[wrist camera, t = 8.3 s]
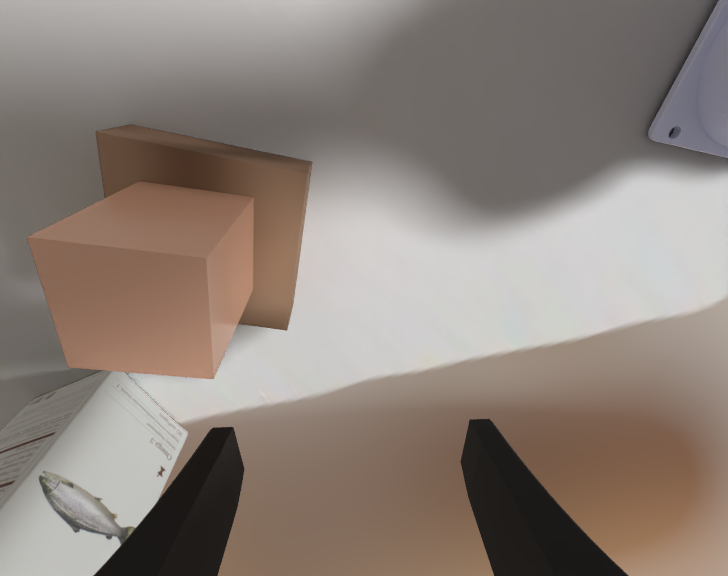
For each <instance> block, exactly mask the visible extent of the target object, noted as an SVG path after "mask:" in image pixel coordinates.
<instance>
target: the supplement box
mask: <svg viewBox="0 0 728 576" xmlns="http://www.w3.org/2000/svg"><path fill="white" fill-rule="evenodd" d="M187 435H188V432H187V431H186V430H185V429H183V428H182V427H181V426H180V425H179V424H177V423H176V422H175V421H174V420H173V419H172V418H171V417H170V416H169V415H168V414H166V413H165V412H164V411H163V410H162V409H161V408H160V407H159V406H158V405H157V404H156V403H155V402H154V401H153V400H152V399H151V398H150V397H149V396H148V395H147V394H146V393H145V392H144V391H143V390H142V389H141V388H140V387H139V386H138V385H137V384H136V383H135V382H134V381H133V380H132V379H131V378H130V377H129V376H128V375H127V374H126V373H125V372H118V371H106V370H103V371H100V372H98V373H96V374H93V375H91V376H88V377H86V378H83V379H81V380H78V381H76V382H74V383H71V384H69V385H66V386H64V387H61V388H59V389H56V390H54V391H52V392H49V393H47V394H45V395H42V396H40V397H38V398H35V399H33V400H32V401H31V402H30V403H29V404H27V405H26V406H25V407H24V408H23V409H22V410H21V411H20V412H19V413H18V414H17V415H16V416H15V417H14V418H13V419H12V420H11V421H10V422H9V423H8V424H7V425H6V426H5V427H4V428H3V429H2V430H1V431H0V576H94V575H95V573H96V572H97V571H98V570H99V569H100V568H101V567H102V566H103V565H104V564H105V563H106V562H107V560H108V559H109V558H110V557H111V556H112V555H113V554H114V553H115V552H116V550H117V549H118V548H119V547H120V546H121V545H122V544H123V542H124V541H125V540H126V539H127V538H128V537H129V536H130V534H131V533H132V532H133V531H134V529H135V528H136V527H137V526H138V525H139V523H140V522H141V521H142V520H143V519H144V517H145V516H146V515H147V514H148V513H149V511H150V510H151V509H152V508H153V507H154V505H155V504H156V503H157V501H158V498H159V496H160V494H161V492H162V490H163V488H164V486H165V484H166V481H167V479H168V477H169V475H170V473H171V470H172V468H173V466H174V464H175V462H176V459H177V457H178V455H179V453H180V450H181V448H182V446H183V444H184V442H185V440H186V438H187Z"/></svg>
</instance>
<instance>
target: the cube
mask: <svg viewBox="0 0 728 576" xmlns="http://www.w3.org/2000/svg"><path fill="white" fill-rule="evenodd" d="M253 229H254V197H250V196H242V195H235V194H228V193H221V192H214V191H207V190H199V189H192V188H185V187H178V186H171V185H163V184H156V183H149V182H142V181H139V182H137V183H135V184H133V185H131V186H129V187H127V188H125V189H123V190H121V191H119V192H117V193H115V194H113V195H111V196H109V197H107V198H105V199H103V200H101V201H99V202H97V203H95V204H92V205H90V206H88V207H86V208H84V209H82V210H80V211H78V212H76V213H74V214H72V215H70V216H68V217H66V218H64V219H62V220H60V221H58V222H56V223H54V224H52V225H50V226H48V227H46V228H44V229H42V230H40V231H38V232H36V233H34V234H32V235H30V236H28V237H27V240H28V243H29V246H30V249H31V252H32V255H33V258H34V262H35V265H36V268H37V271H38V274H39V277H40V280H41V284H42V287H43V290H44V293H45V296H46V299H47V302H48V306H49V309H50V312H51V315H52V318H53V321H54V324H55V328H56V331H57V334H58V337H59V340H60V343H61V346H62V350H63V353H64V356H65V359H66V362H67V365H68V368H81V369H93V370H106V371H118V372H130V373H143V374H155V375H168V376H180V377H193V378H205V379H214V377H215V375H216V373H217V371H218V368H219V366H220V364H221V361H222V359H223V357H224V355H225V352H226V350H227V348H228V345H229V343H230V341H231V339H232V336H233V334H234V332H235V329H236V327H237V325H238V323H239V320H240V318H241V316H242V313H243V311H244V309H245V307H246V304H247V302H248V300H249V297H250V295H251V293H252V291H253Z"/></svg>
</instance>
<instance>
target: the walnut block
mask: <svg viewBox="0 0 728 576" xmlns="http://www.w3.org/2000/svg"><path fill="white" fill-rule="evenodd" d="M96 138H97V145H98V152H99V159H100V166H101V174H102V181H103V188H104V195H105V198H107V197H109V196H111V195H113V194H115V193H117V192H119V191H121V190H123V189H125V188H127V187H129V186H131V185H133V184H135V183H137V182H139V181H142V182H149V183H156V184H163V185H171V186H178V187H185V188H192V189H199V190H207V191H214V192H221V193H228V194H235V195H242V196H250V197H254V229H253V291H252V293H251V295H250V297H249V300H248V302H247V304H246V307H245V309H244V311H243V313H242V316H241V318H240V320H239V323H238V324H244V325H251V326H258V327H266V328H273V329H280V330H287V329H288V324H289V320H290V316H291V312H292V307H293V303H294V295H295V288H296V280H297V273H298V265H299V258H300V250H301V243H302V235H303V228H304V220H305V213H306V205H307V198H308V190H309V183H310V175H311V168H312V162H310V161H305V160H300V159H295V158H291V157H286V156H281V155H276V154H271V153H266V152H261V151H257V150H252V149H247V148H242V147H237V146H232V145H227V144H223V143H218V142H213V141H208V140H203V139H198V138H193V137H189V136H184V135H179V134H174V133H169V132H164V131H159V130H155V129H150V128H145V127H140V126H135V125H126V126H121V127H116V128H111V129H106V130H101V131H96Z"/></svg>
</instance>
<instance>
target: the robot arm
mask: <svg viewBox="0 0 728 576" xmlns="http://www.w3.org/2000/svg"><path fill="white" fill-rule="evenodd" d="M672 128H674V132H673V134H672V135H671V136H669V132H670V130H671V129H672ZM648 136H649V138H650V139H651V140H653V141H656V142H661V143H665V144H669V145H673V146H678V147H682V148H686V149H690V150H695V151H699V152H703V153H708V154H712V155H716V156H720V157H725V158H728V0H718V2H717V4H716V6H715V8H714V10H713V12H712V13H711V15H710V17H709V19H708V21H707V23H706V25H705V26H704V28H703V30H702V32H701V34H700V36H699V37H698V39H697V41H696V43H695V45H694V47H693V49H692V50H691V52H690V54H689V56H688V58H687V60H686V61H685V63H684V65H683V67H682V69H681V71H680V73H679V74H678V76H677V78H676V80H675V82H674V84H673V86H672V87H671V89H670V91H669V93H668V95H667V97H666V98H665V100H664V102H663V104H662V106H661V108H660V110H659V111H658V113H657V115H656V117H655V119H654V121H653V122H652V124H651V126H650V128H649V131H648ZM461 465H462V470H463V475H464V479H465V484H466V489H467V493H468V497H469V500H470V503H471V507H472V510H473V513H474V516H475V519H476V522H477V525H478V528H479V531H480V534H481V537H482V540H483V543H484V546H485V549H486V552H487V555H488V558H489V561H490V564H491V567H492V570H493V573H494V576H628V575H627V574H626V573H625V572H624V571H623V570H622V569H621V568H620V567H619V566H618V565H616V564H615V562H613V561H612V560H611V559H610V558H609V557H608V556H607V555H606V554H605V553H604V552H603V551H602V550H601V549H600V548H599V547H598V546H597V545H596V544H595V543H594V542H593V541H592V540H591V539H590V538H589V537H588V536H587V534H586V533H585V532H584V531H583V530H582V529H581V528H580V527H579V526H578V525H577V524H576V523H575V522H574V521H573V520H572V519H571V517H570V516H569V515H568V514H567V513H566V512H565V511H564V510H563V509H562V508H561V506H560V505H559V504H558V503H557V502H556V501H555V500H554V498H553V497H552V496H551V495H550V494H549V493H548V492H547V490H546V489H545V488H544V487H543V486H542V484H541V483H540V482H539V481H538V480H537V479H536V477H535V476H534V475H533V474H532V473H531V471H530V470H529V469H528V468H527V466H526V465H525V464H524V463H523V461H522V460H521V459H520V458H519V456H518V455H517V454H516V452H515V451H514V450H513V449H512V447H511V446H510V445H509V444H508V442H507V441H506V440H505V438H504V437H503V436H502V434H501V433H500V432H499V430H498V429H497V428H496V426H495V425H494V424H493V422H492V421H491V420H490V419H477V420H475V419H474V420H470V421H469V426H468V431H467V435H466V440H465V444H464V449H463V453H462V458H461ZM243 474H244V466H243V462H242V458H241V455H240V451H239V447H238V443H237V439H236V436H235V432H234V428H233V427H222V428H212V429H211V430H210V431H209V433H208V434H207V435H206V437H205V438H204V440H203V441H202V443H201V444H200V445H199V447H198V448H197V450H196V451H195V452H194V454H193V455H192V457H191V458H190V459H189V461H188V462H187V463H186V465H185V466H184V467H183V469H182V470H181V472H180V473H179V474H178V476H177V477H176V479H175V480H174V481H173V482H172V484H171V485H170V486H169V487H168V489H167V490H166V492H165V493H164V494H163V495H162V497H161V498H160V499H159V500H158V502H157V503H156V504H155V505H154V507H153V508H152V509H151V510H150V511H149V513H148V514H147V515H146V516H145V517H144V519H143V520H142V521H141V522H140V523H139V525H138V526H137V527H136V528H135V529H134V531H133V532H132V533H131V534H130V536H129V537H128V538H127V539H126V540H125V541H124V542H123V544H122V545H121V546H120V547H119V548H118V549H117V550H116V552H115V553H114V554H113V555H112V556H111V557H110V558H109V559H108V560H107V562H106V563H105V564H104V565H103V566H102V567H101V568H100V569H99V570H98V571H97V572H96V573H95V575H94V576H217V575H218V572H219V568H220V565H221V562H222V558H223V554H224V551H225V548H226V545H227V541H228V538H229V534H230V531H231V527H232V524H233V521H234V517H235V514H236V510H237V507H238V502H239V496H240V491H241V485H242V480H243Z"/></svg>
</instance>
